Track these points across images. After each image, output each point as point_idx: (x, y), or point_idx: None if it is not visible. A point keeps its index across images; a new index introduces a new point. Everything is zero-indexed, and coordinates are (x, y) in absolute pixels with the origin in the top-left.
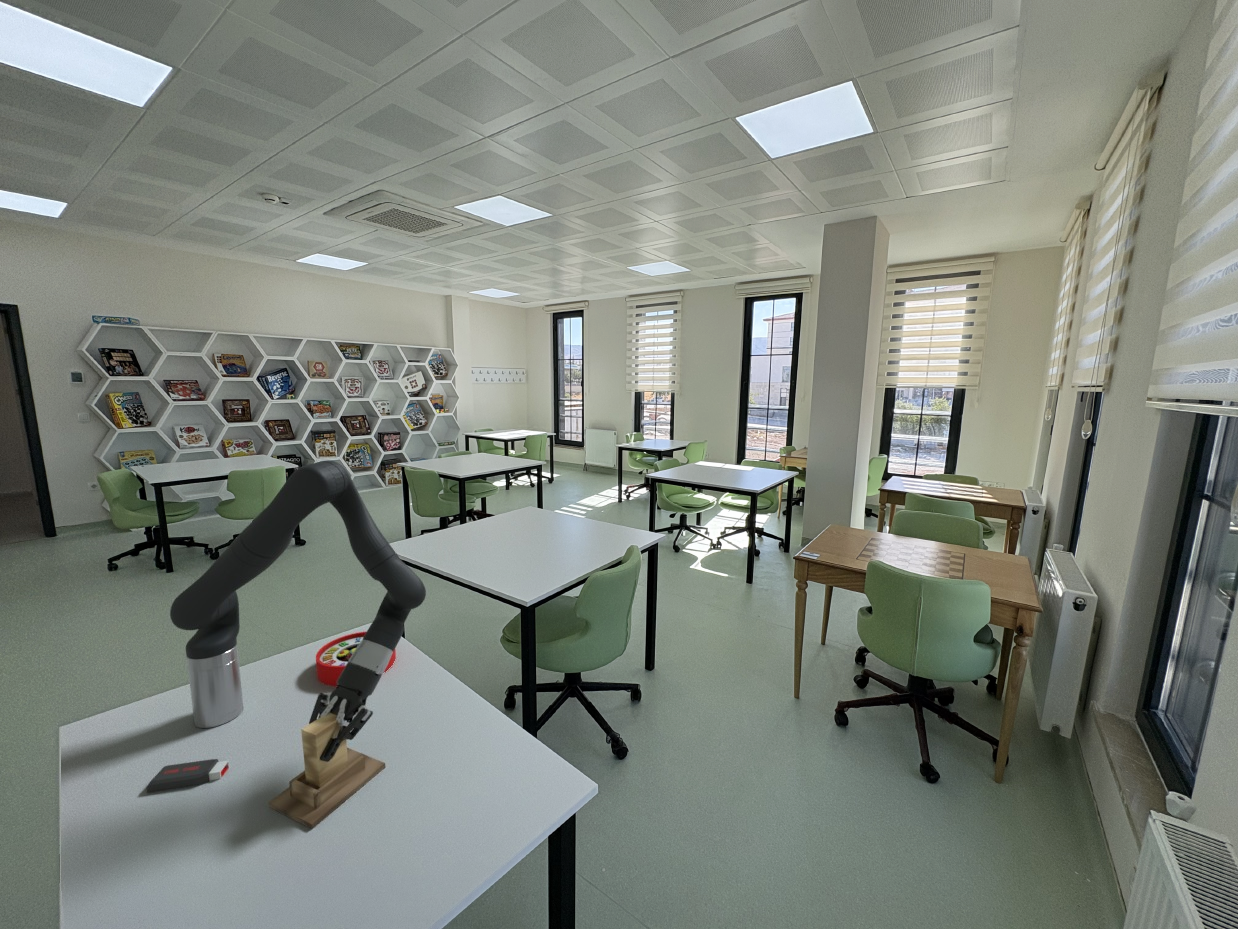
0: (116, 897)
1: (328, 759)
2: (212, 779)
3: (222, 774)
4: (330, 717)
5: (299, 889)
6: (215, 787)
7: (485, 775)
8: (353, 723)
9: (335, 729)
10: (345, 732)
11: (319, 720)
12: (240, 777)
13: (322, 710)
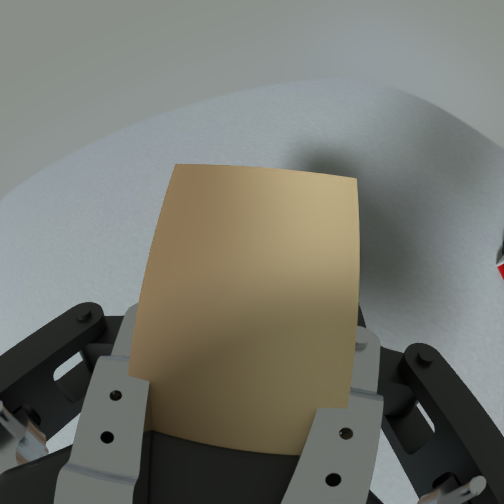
0: (374, 90)
1: None
2: (502, 256)
3: (502, 271)
4: (238, 402)
5: (137, 149)
6: (485, 246)
7: None
8: (17, 352)
9: None
10: (69, 320)
11: (316, 327)
12: (477, 281)
13: (429, 455)
